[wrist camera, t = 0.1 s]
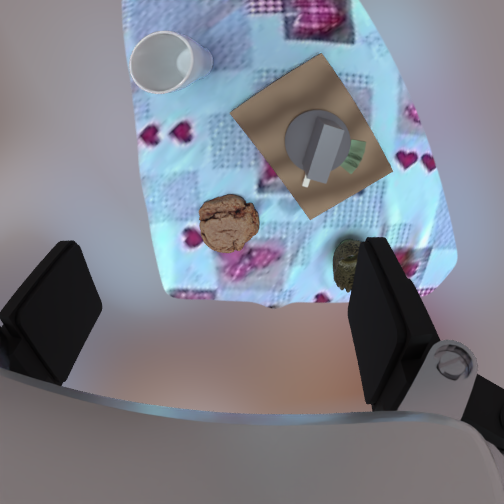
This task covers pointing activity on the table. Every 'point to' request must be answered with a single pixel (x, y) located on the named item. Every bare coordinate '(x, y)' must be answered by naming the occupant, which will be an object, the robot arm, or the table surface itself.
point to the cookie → (228, 223)
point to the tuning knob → (317, 144)
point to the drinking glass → (168, 62)
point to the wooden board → (290, 106)
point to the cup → (345, 263)
